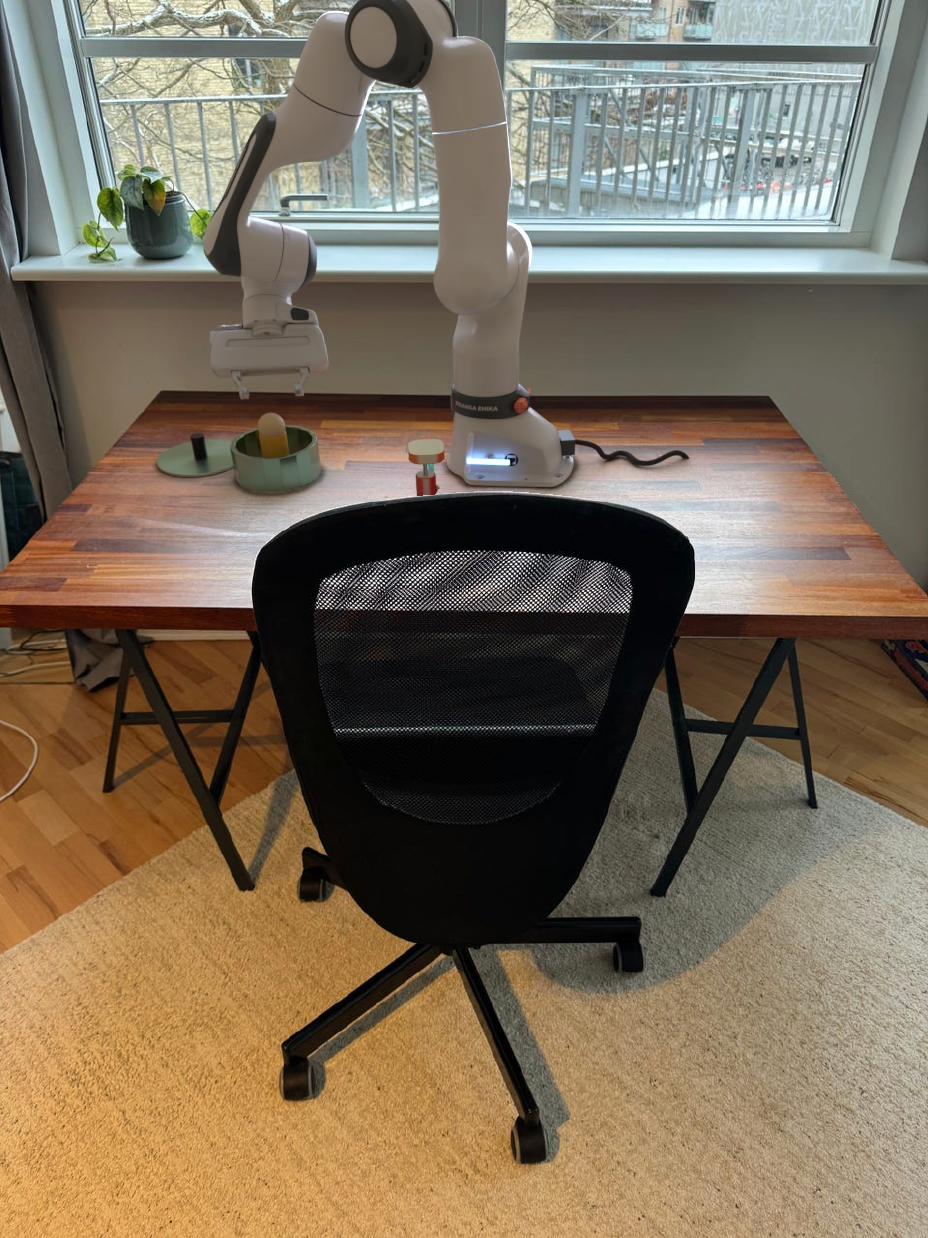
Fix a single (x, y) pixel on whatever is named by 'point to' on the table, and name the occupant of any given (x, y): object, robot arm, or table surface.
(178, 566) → the table surface
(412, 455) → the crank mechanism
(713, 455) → the table surface
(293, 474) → the pot
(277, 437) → the toy
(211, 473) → the lid
